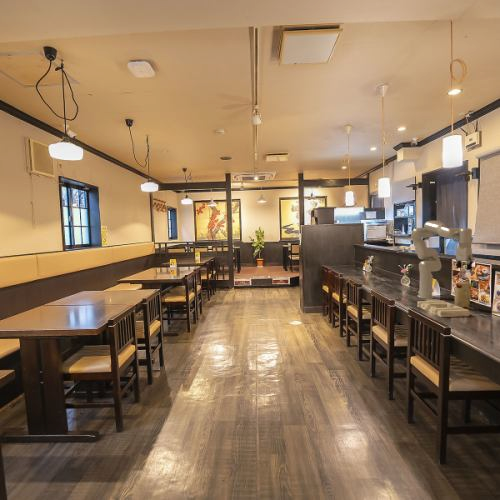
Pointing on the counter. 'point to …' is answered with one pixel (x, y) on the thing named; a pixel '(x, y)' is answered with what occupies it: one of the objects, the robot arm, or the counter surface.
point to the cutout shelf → (443, 308)
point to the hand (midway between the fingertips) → (463, 268)
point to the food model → (462, 294)
